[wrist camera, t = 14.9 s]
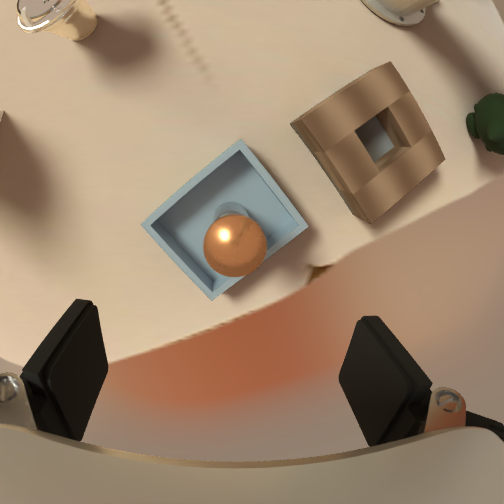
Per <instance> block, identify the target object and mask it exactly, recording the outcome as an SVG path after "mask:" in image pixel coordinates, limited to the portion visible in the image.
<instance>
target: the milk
mask: <svg viewBox="0 0 504 504" xmlns="http://www.w3.org/2000/svg"><path fill="white" fill-rule="evenodd" d="M3 113H4V110H1V109H0V122H1V119H2V116H3Z"/></svg>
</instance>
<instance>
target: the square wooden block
mask: <svg viewBox="0 0 504 504" xmlns="http://www.w3.org/2000/svg"><path fill="white" fill-rule="evenodd" d="M290 125H291V126H292V127H293V129H294V130H295V131H296V133H297V134H298V135H299V137H300V138H301V139H302V141H303V142H304V143H305V145H306V146H307V148H308V149H309V150H310V152H311V153H312V154H313V156H314V157H315V159H316V160H317V161H318V163H319V164H320V166H321V167H322V169H323V170H324V171H325V173H326V174H327V176H328V177H329V179H330V180H331V182H332V183H333V185H334V186H335V188H336V189H337V191H338V192H339V194H340V195H341V197H342V198H343V200H344V201H345V203H346V204H347V206H348V208H349V209H350V211H351V212H352V214H353V215H355V216H357V217H359V218H361V219H363V220H365V221H367V222H368V223H370V224H371V223H373V222H374V221H375V220H376V219H377V218H379V217H380V216H381V215H382V214H383V213H385V212H386V211H387V210H388V209H389V208H391V207H392V206H393V205H394V204H395V203H396V202H398V201H399V200H400V199H401V198H402V197H403V196H405V195H406V194H407V193H408V192H409V191H410V190H412V189H413V188H414V187H415V186H416V185H417V184H418V183H420V182H421V181H422V180H423V179H424V178H425V177H426V176H427V175H429V174H430V173H431V172H432V171H433V170H434V169H435V168H436V167H438V166H439V165H440V164H441V163H442V162H443V161H444V160H445V157H444V155H443V153H442V151H441V148H440V146H439V144H438V142H437V140H436V138H435V136H434V134H433V132H432V130H431V128H430V126H429V124H428V122H427V120H426V118H425V116H424V115H423V113H422V111H421V109H420V107H419V106H418V104H417V102H416V100H415V99H414V97H413V95H412V94H411V92H410V90H409V89H408V87H407V85H406V84H405V82H404V81H403V79H402V78H401V76H400V74H399V73H398V71H397V70H396V68H395V67H394V65H393V64H392V63H391V61H390V62H388V63H385V64H383V65H381V66H379V67H376V68H374V69H372V70H370V71H368V72H367V73H365V74H363V75H362V76H360V77H359V78H357V79H355V80H354V81H352V82H351V83H349V84H348V85H346V86H344V87H343V88H341V89H340V90H338V91H337V92H335V93H334V94H332V95H331V96H329V97H328V98H326V99H325V100H323V101H322V102H320V103H319V104H317V105H316V106H314V107H313V108H311V109H310V110H309V111H307V112H306V113H304V114H303V115H301V116H300V117H299V118H297V119H296V120H294V121H293V122H291V123H290Z"/></svg>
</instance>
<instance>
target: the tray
mask: <svg viewBox="0 0 504 504" xmlns="http://www.w3.org/2000/svg"><path fill="white" fill-rule="evenodd" d="M230 201H232V202H237V203H239V204H241V205H242V206H243V207H244V208H245V209H246V211H247V214H248V216H249V217H250V218H251V219H253V220H254V221H255V222H257V224H258V225H259V226H260V227H261V229H262V231H263V233H264V235H265V237H266V241H267V251H266V255H265V258H264V260H263V262H264V261H265V260H266V259H267V258H269V257H270V256H271V255H273V254H274V253H275V252H277V251H278V250H279V249H280V248H282V247H283V246H284V245H286V244H287V243H288V242H289V241H291V240H292V239H293V238H295V237H296V236H297V235H298V234H300V233H301V232H302V231H304V230H305V229H306V228H307V227H309V226H308V225H307V223H306V222H305V221H304V219H303V218H302V217H301V215H300V214H299V212H298V211H297V210H296V208H295V207H294V206H293V204H292V203H291V202H290V200H289V199H288V198H287V196H286V195H285V194H284V193H283V191H282V190H281V189H280V187H279V186H278V185H277V183H276V182H275V181H274V179H273V178H272V177H271V176H270V174H269V173H268V172H267V171H266V169H265V168H264V167H263V165H262V164H261V163H260V162H259V160H258V159H257V158H256V157H255V155H254V154H253V153H252V152H251V150H250V149H249V148H248V147H247V145H246V144H245V143H244V142H243V141H242V139H240V140H239V141H237V142H236V143H235V144H234V145H232V146H231V147H230V148H228V149H227V150H226V151H225V152H223V153H222V154H221V155H220V156H218V157H217V158H216V159H215V160H213V161H212V162H211V163H210V164H209V165H207V166H206V167H205V168H204V169H202V170H201V171H200V172H199V173H198V174H197V175H195V176H194V177H193V178H192V179H191V180H189V181H188V182H187V183H186V184H185V185H184V186H182V187H181V188H180V189H179V190H178V191H177V192H176V193H174V194H173V195H172V196H171V197H170V198H169V199H168V200H167V201H165V202H164V203H163V204H162V205H161V206H160V207H159V208H158V209H157V210H156V211H154V212H153V213H152V214H151V215H150V216H149V217H148V218H147V219H146V220H145V221H144V222H143V223H142V224H141V226H142V227H143V228H144V229H145V230H146V232H147V233H148V234H149V235H150V236H151V237H152V238H153V239H154V240H155V242H156V243H157V244H158V245H159V246H160V247H161V248H162V249H163V250H164V251H165V252H166V254H167V255H168V256H169V257H170V258H171V259H172V260H173V261H174V262H175V263H176V264H177V265H178V266H179V267H180V269H181V270H182V271H183V272H184V273H185V274H186V275H187V276H188V277H189V278H190V279H191V280H192V281H193V282H194V283H195V284H196V285H197V286H198V287H199V288H200V289H201V290H202V291H203V292H204V293H205V295H206V296H207V297H208V298H209V299H210V300H211V301H213V300H214V299H215V298H216V297H218V296H219V295H220V294H222V293H223V292H224V291H226V290H227V289H228V288H230V287H231V286H232V285H234V284H235V283H236V282H237V281H239V280H240V279H241V278H243V277H244V276H241V277H228V276H224V275H221V274H219V273H218V272H216V271H215V270H213V269H212V268H211V267H210V265H209V264H208V263H207V261H206V259H205V256H204V252H203V243H204V237H205V234H206V232H207V230H208V228H209V227H210V225H211V224H212V223H213V219H214V213H215V211H216V209H217V208H218V207H219V206H220V205H221V204H223V203H225V202H230Z"/></svg>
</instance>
